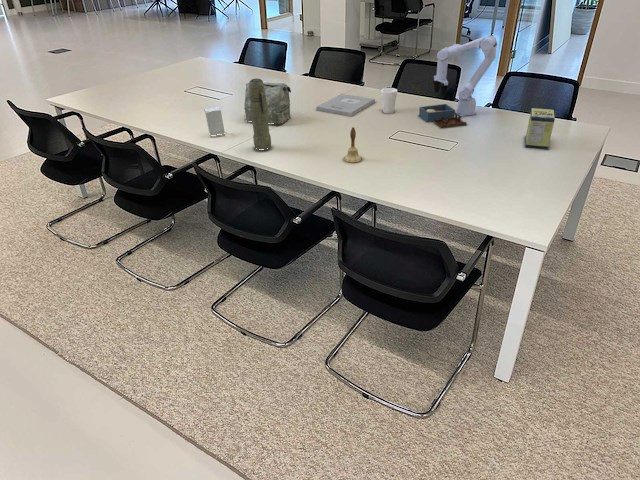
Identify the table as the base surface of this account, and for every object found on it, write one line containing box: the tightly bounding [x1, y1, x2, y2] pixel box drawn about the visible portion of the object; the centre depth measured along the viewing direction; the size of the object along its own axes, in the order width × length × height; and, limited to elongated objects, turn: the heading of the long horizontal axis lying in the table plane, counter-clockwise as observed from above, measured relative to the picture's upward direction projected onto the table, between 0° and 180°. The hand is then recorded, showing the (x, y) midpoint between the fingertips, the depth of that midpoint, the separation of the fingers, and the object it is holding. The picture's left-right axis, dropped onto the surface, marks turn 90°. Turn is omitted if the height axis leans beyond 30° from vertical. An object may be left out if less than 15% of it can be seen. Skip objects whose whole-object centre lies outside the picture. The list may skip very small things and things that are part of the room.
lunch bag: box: [243, 81, 292, 126], centre depth 284 cm, size 26×18×22 cm
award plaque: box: [315, 93, 376, 117], centre depth 306 cm, size 25×30×2 cm
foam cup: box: [380, 87, 398, 114], centre depth 291 cm, size 10×9×13 cm
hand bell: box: [343, 126, 362, 164], centre depth 234 cm, size 8×8×16 cm
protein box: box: [525, 107, 556, 150], centre depth 243 cm, size 10×16×16 cm
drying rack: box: [433, 113, 468, 129], centre depth 273 cm, size 15×9×5 cm, turn 104°
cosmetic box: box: [204, 106, 226, 139], centre depth 268 cm, size 8×6×15 cm
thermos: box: [248, 78, 272, 152], centre depth 244 cm, size 9×12×35 cm
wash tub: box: [418, 103, 456, 123], centre depth 283 cm, size 17×12×5 cm
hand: (439, 94), depth 289 cm, fingers open, 7 cm apart
